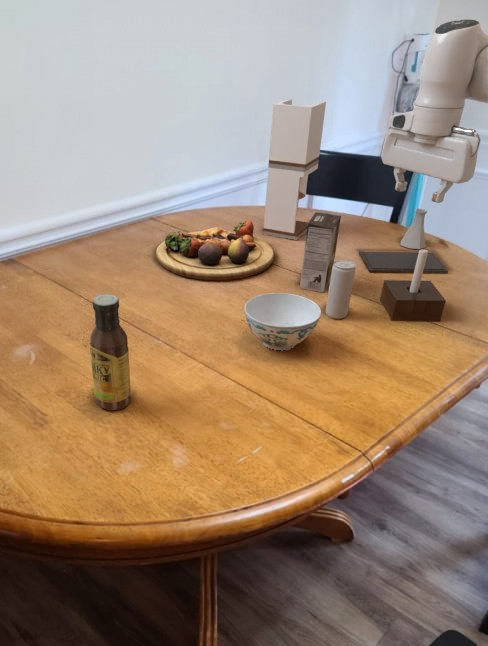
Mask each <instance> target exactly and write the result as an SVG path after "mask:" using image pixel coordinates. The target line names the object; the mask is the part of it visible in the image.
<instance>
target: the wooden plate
mask: <svg viewBox="0 0 488 646" xmlns="http://www.w3.org/2000/svg"><path fill="white" fill-rule="evenodd" d="M233 228H234V229H233V230H232V231H229V230H227V229H224V228H222V227H211V228H207V229H203V230H200V231H199V230H198V231H191V232H190V231H189V232H185V233H181V231H182V230H181V231H180V230H179V231H178V232H175V231H172V232H171V233H170V232H169V233H168V234H166V236H165V238H164V241H162V242H161V243H160V244H159V245H158V246H157V248H156V251H155V258H156V260H157V262H158V263H159V265H161V266H162V267H163V268H164V269H165V270H167V271H169V272H171V273H173V274H176V275H179V276H181V277H186V278H191V279H196V280H204V281H205V280H206V281H226V280H228V281H229V280H236V279H243V278H247V277H250V276H251V277H252V276H254V275H257V274H259V273H261V272H262V273H263V271H265V270H267V269H268V268H269V267H270V266H271V265H272V264H273V262H274V259H275V253H274V250H273V248H272V247H271V246H270V245H269V244H268V243H267V242H266V241H264V240H263V239H260V238H258V237H256V236H254V229H255V227H254V223H253V221H252V220H249V219H247V220H244V222H243V221H240V222H238V223H237V226H233Z"/></svg>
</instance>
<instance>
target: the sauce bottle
mask: <svg viewBox="0 0 488 646" xmlns="http://www.w3.org/2000/svg"><path fill="white" fill-rule="evenodd" d="M92 308H93V311H94V320H95V321H94V324H95V327H94V328H93V330H92V332H91V334H90V338H89V351H90V362H91V371H92V372H91V373H92V374H91V375H92V382H93V383H92V384H93V392H94V396H95V401H96V403H97V406H98V407H100V408H102V409H104V410H106V411H117V410H122V409H124V408H126V407H127V406H128V405H129V404H130V402H131V392H132V391H131V371H130V369H131V368H130V354H129V346H128V334H127V333H126V331H125V330H124V328H123V327H122V326H121V325H120V316H119V315H120V314H119V309H120V299H119V297H118V296H117V295H115V294H111V293H103V294H98V295H95V297H94V298H93V299H92ZM125 406H126V407H125Z"/></svg>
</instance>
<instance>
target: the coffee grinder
mask: <svg viewBox="0 0 488 646" xmlns="http://www.w3.org/2000/svg"><path fill="white" fill-rule="evenodd" d="M326 105H327V101H321V102H318V103H315V104H309V105H293V99H292V98H288V99H284V100H282V101H278V102H276V103H273V104H272V115H271V116H272V117H271V127H270V129H271V130H270V141H269V154H268V164H267V165H268V167H267V178H266V179H267V180H266V195H265V205H264V216H263V217H264V219H263V230H262V234H266V235H265V236H267V235H272V236H271V237H273V236H277V237H276V238H278V237H283V238H282V239H284V238H288V239H287V240H289V239H294V240H293V241H295V240H297V239H298V240H299V239H301V238H302V237H303V236H304V235H306V234H307V233H306V232H307V226H308V223H309V221H302V220H297V215H298V207H299V200H302V199H304V198H305V197H306V195H307V187H308V179H309V175H310V174H312V173H313V172H315V171H316V170H318V169H319V161H320V155H321V154H320V152H321V147H322V145H321V144H322V138H323V130H324V121H325V114H326ZM303 234H304V235H303ZM302 235H303V236H302ZM301 236H302V237H301ZM300 237H301V238H300ZM298 240H297V241H298Z"/></svg>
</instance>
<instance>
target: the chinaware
mask: <svg viewBox="0 0 488 646" xmlns="http://www.w3.org/2000/svg"><path fill="white" fill-rule="evenodd" d="M320 307H321V306H319V305H318V304H317V303H316V302H315V301H313V300H311V299H309V298H307V297H305V296H301V295H298V294H293V293H287V292H267V293H262V294H258V295H256V296H253V297H251V298H249V299H248V301H246V302H245V304H244V316H245V319H246V322H247V323H246V324H247V325H248V327H249V329H250V331H251V332H252V334H253V335H254V336H255V337H256V338H257V339H258V340H260V341H261V342H262V344H263V346H264V347H266V348H267V347H268V348H267V349H269V348H271V349H270V350H272V349H274V350H273V351H276V350H281V351H280V352H284V351H283V350H286V351H290V350H292V349H294V348H295V347H296V345H298V344H300V343H302V342H303V341H304V340H306V339H308V337H309V336H310V335H311V334H312V333H313V332H314V330H315V329H316V327H317V325H318V324H319V322H320V318H321V317H322V310H321V308H320ZM291 348H292V349H291Z"/></svg>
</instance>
